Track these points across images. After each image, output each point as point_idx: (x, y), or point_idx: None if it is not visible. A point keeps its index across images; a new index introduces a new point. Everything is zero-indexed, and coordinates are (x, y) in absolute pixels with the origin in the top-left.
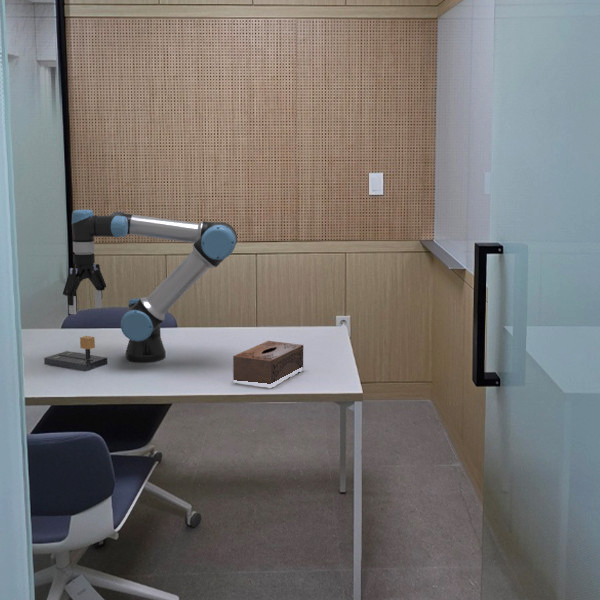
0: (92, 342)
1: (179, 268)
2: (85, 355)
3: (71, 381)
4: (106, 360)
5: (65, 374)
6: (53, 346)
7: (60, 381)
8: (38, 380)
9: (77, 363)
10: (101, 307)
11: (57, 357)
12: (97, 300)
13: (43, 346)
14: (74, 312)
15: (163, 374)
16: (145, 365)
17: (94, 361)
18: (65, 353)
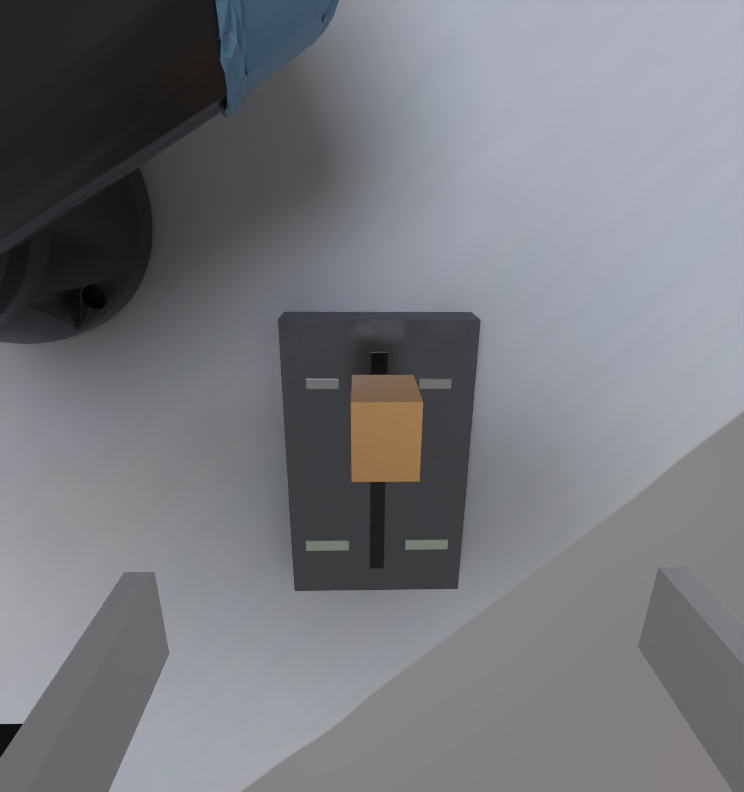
0: (375, 388)
1: None
2: (311, 458)
3: (673, 237)
4: (289, 316)
5: (562, 364)
6: (188, 724)
7: (690, 291)
8: (706, 399)
9: (474, 378)
10: (130, 577)
11: (425, 542)
12: (111, 717)
13: (215, 750)
14: (704, 592)
15: None
16: None
17: (392, 324)
18: (336, 565)
